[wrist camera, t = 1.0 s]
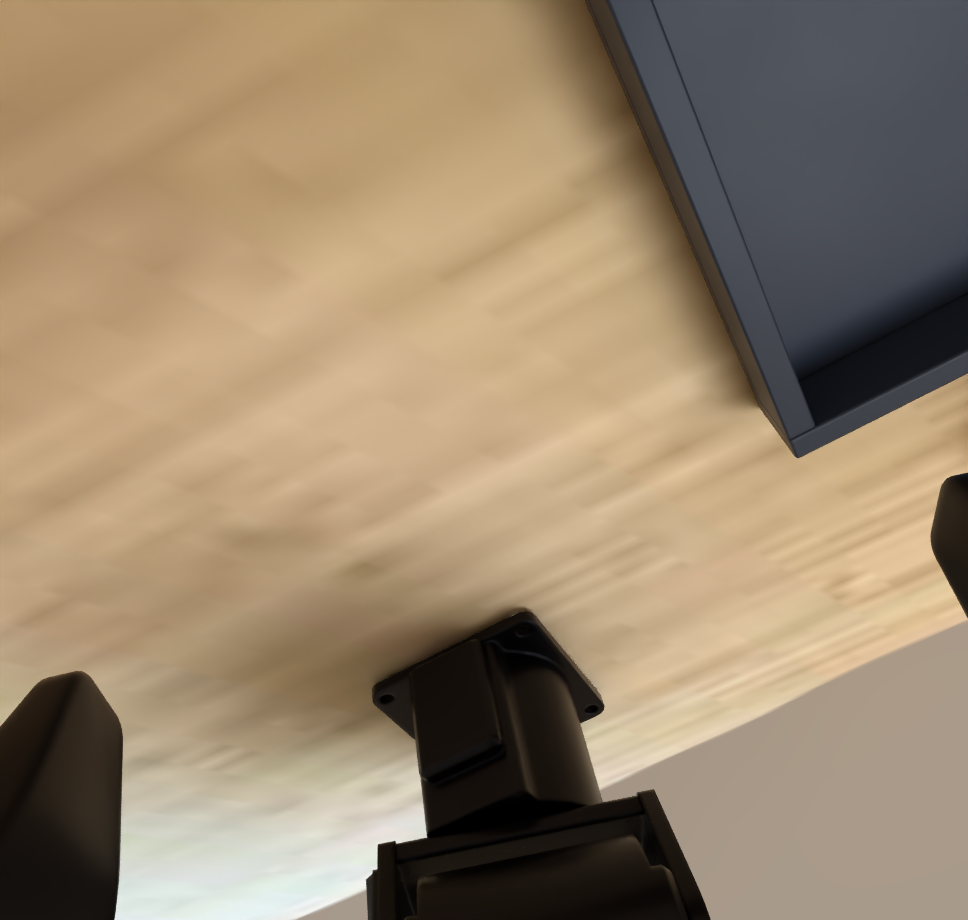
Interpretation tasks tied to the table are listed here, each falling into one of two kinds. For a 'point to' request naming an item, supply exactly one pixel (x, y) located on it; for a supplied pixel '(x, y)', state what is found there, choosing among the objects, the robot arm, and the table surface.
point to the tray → (814, 188)
